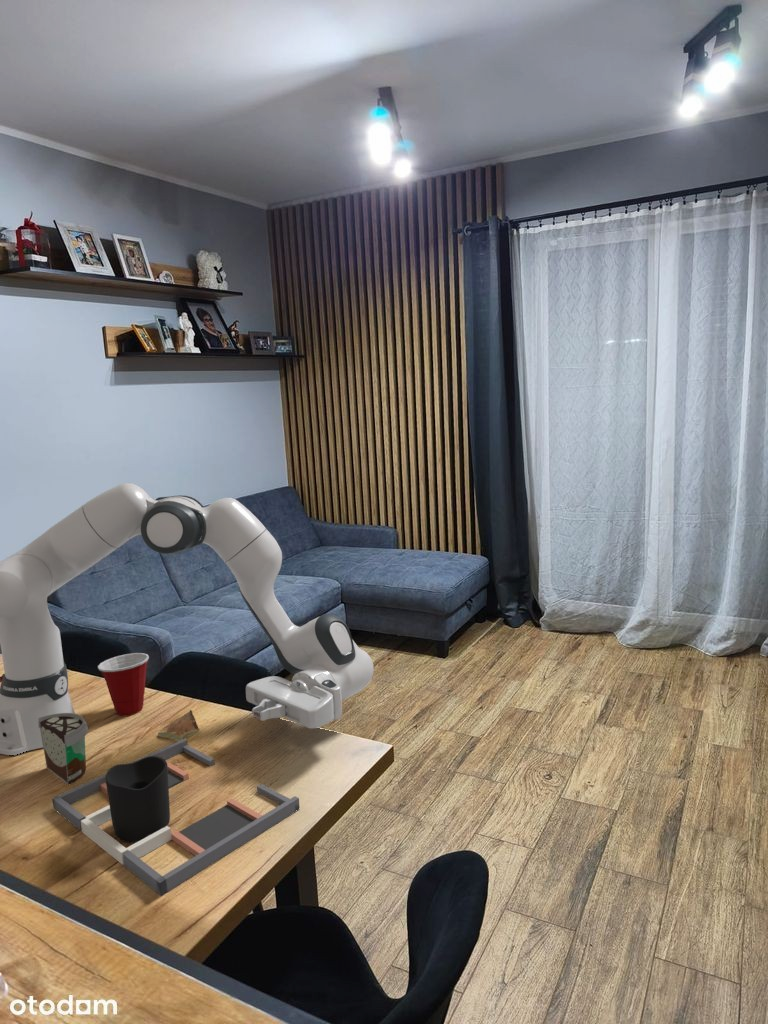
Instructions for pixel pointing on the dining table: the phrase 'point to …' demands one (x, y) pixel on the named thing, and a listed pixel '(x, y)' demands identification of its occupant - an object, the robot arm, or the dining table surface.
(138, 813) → the pen holder
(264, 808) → the dining table surface
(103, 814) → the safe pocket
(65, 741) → the food container
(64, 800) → the box
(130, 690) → the plastic cup
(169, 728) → the shard
